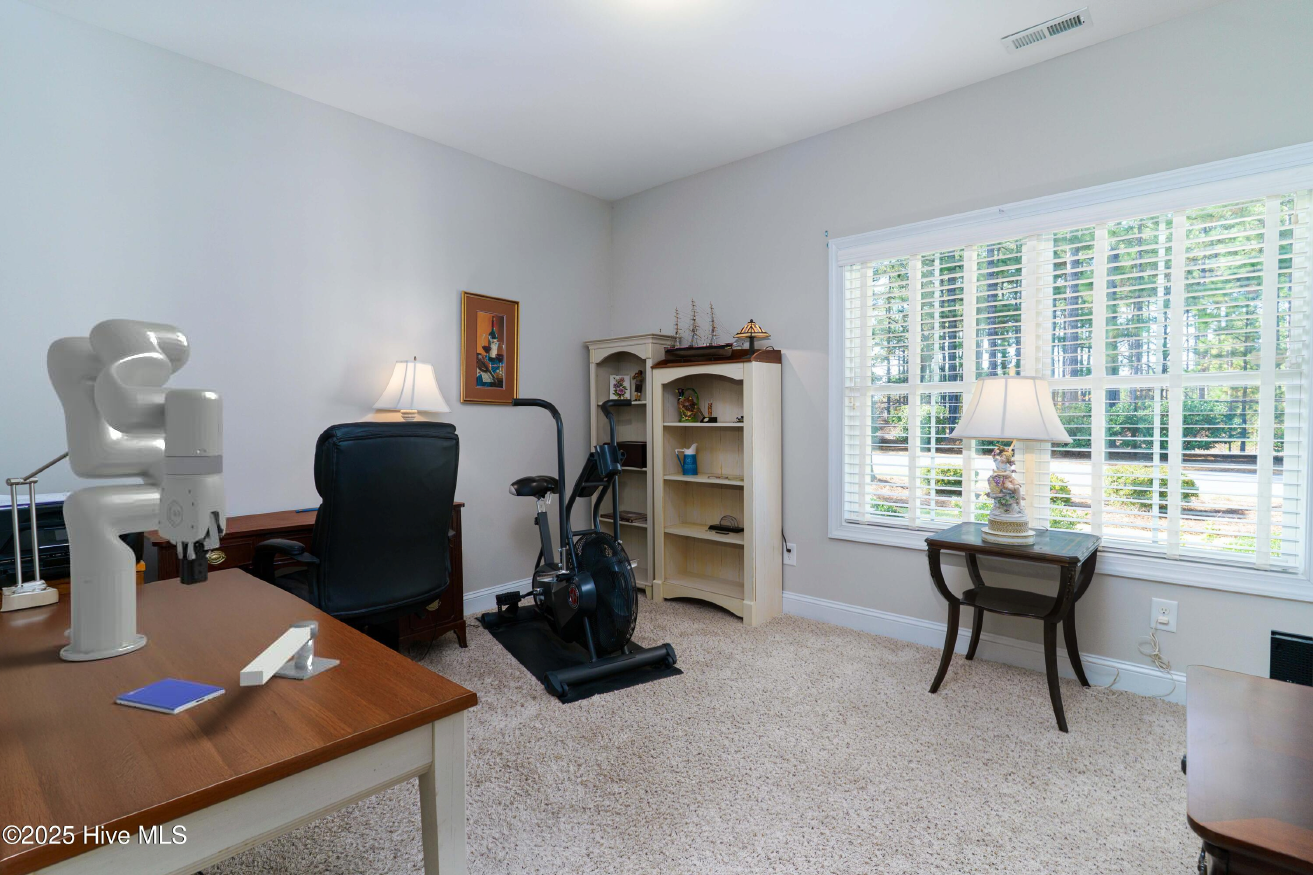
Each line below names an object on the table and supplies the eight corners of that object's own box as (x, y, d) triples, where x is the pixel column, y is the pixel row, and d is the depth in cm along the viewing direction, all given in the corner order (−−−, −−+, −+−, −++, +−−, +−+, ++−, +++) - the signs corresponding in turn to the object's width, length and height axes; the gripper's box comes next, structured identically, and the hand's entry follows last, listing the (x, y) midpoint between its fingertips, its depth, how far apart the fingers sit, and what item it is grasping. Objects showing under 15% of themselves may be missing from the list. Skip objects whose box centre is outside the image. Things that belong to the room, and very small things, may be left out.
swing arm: (294, 632, 117) (294, 621, 117) (321, 630, 118) (321, 619, 118) (234, 686, 93) (234, 672, 93) (268, 683, 93) (268, 670, 93)
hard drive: (116, 696, 101) (173, 707, 97) (169, 676, 109) (224, 686, 105) (116, 706, 101) (173, 717, 97) (170, 686, 109) (225, 696, 105)
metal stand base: (267, 674, 112) (267, 641, 112) (304, 658, 120) (304, 628, 120) (303, 679, 110) (303, 646, 110) (339, 663, 118) (339, 632, 118)
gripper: (139, 466, 101) (139, 582, 102) (198, 471, 95) (198, 594, 96) (190, 463, 108) (190, 572, 109) (248, 468, 102) (248, 583, 103)
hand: (194, 582), depth 102 cm, fingers closed
